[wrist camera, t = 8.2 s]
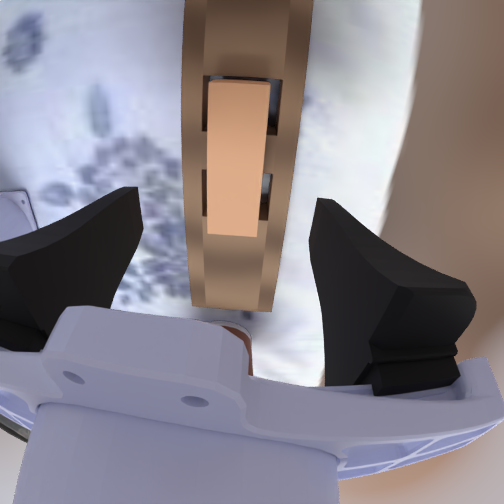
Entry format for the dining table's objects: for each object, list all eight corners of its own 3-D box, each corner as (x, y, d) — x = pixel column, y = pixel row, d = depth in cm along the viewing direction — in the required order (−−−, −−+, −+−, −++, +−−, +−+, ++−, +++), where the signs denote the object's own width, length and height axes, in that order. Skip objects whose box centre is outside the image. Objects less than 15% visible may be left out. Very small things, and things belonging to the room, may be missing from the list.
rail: (271, 292, 28) (271, 312, 26) (196, 286, 28) (192, 306, 26) (311, -43, 11) (317, -55, 9) (199, -48, 11) (191, -60, 9)
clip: (257, 198, 22) (256, 237, 18) (217, 196, 22) (207, 233, 18) (268, 78, 17) (270, 85, 13) (221, 75, 17) (208, 82, 13)
